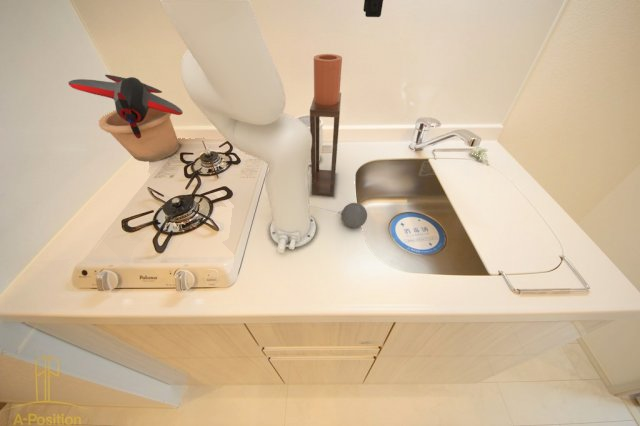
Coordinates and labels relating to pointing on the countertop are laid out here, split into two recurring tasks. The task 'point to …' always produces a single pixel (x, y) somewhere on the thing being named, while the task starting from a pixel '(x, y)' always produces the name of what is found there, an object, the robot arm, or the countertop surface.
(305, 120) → the jar
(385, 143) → the countertop surface
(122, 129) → the pottery
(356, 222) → the lollipop
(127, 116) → the toy airplane
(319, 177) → the shelf stand
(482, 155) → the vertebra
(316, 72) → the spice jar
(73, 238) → the countertop surface
